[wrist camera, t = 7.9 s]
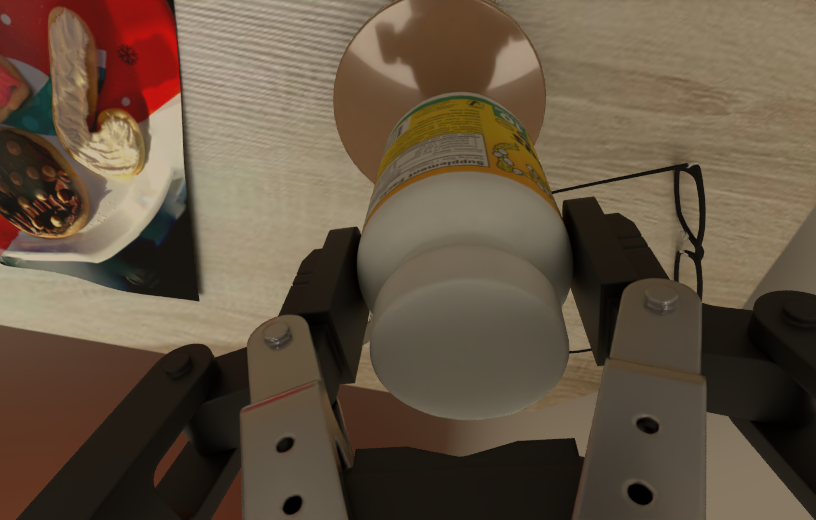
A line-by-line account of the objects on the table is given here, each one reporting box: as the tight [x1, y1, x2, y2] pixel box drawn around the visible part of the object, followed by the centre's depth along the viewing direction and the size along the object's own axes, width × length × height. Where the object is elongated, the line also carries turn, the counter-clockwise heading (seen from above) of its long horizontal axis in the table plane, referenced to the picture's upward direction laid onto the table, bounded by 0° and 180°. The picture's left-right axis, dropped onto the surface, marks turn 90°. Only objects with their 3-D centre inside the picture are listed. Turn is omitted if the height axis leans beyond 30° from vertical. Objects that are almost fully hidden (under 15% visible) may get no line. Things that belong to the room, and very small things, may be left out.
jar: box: [333, 0, 546, 184], centre depth 28 cm, size 11×11×11 cm
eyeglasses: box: [552, 162, 706, 353], centre depth 39 cm, size 16×16×4 cm
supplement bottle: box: [357, 92, 574, 420], centre depth 13 cm, size 5×5×10 cm
